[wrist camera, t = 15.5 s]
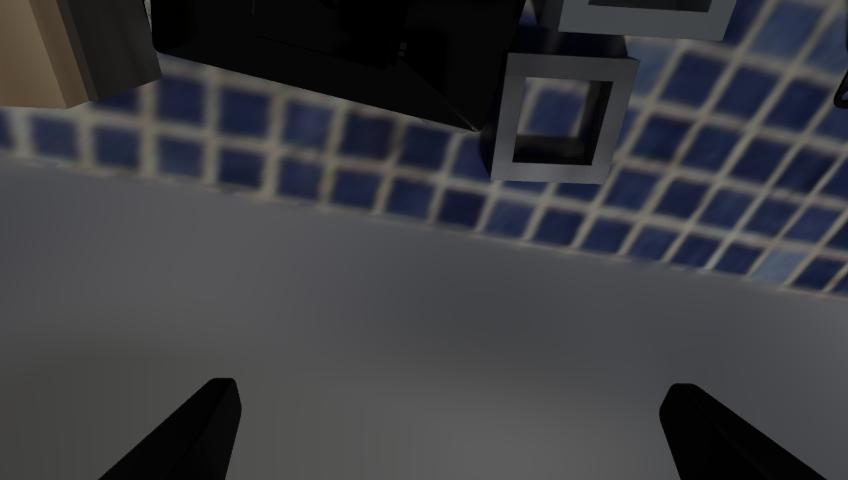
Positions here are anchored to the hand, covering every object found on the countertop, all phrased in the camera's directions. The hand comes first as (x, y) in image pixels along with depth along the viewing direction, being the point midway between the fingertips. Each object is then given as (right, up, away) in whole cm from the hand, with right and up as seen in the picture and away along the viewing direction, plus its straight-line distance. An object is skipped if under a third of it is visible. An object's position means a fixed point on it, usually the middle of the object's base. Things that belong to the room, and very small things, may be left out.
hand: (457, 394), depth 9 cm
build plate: (-4, +14, +8) cm, 16 cm away
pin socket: (+5, +8, +9) cm, 13 cm away
